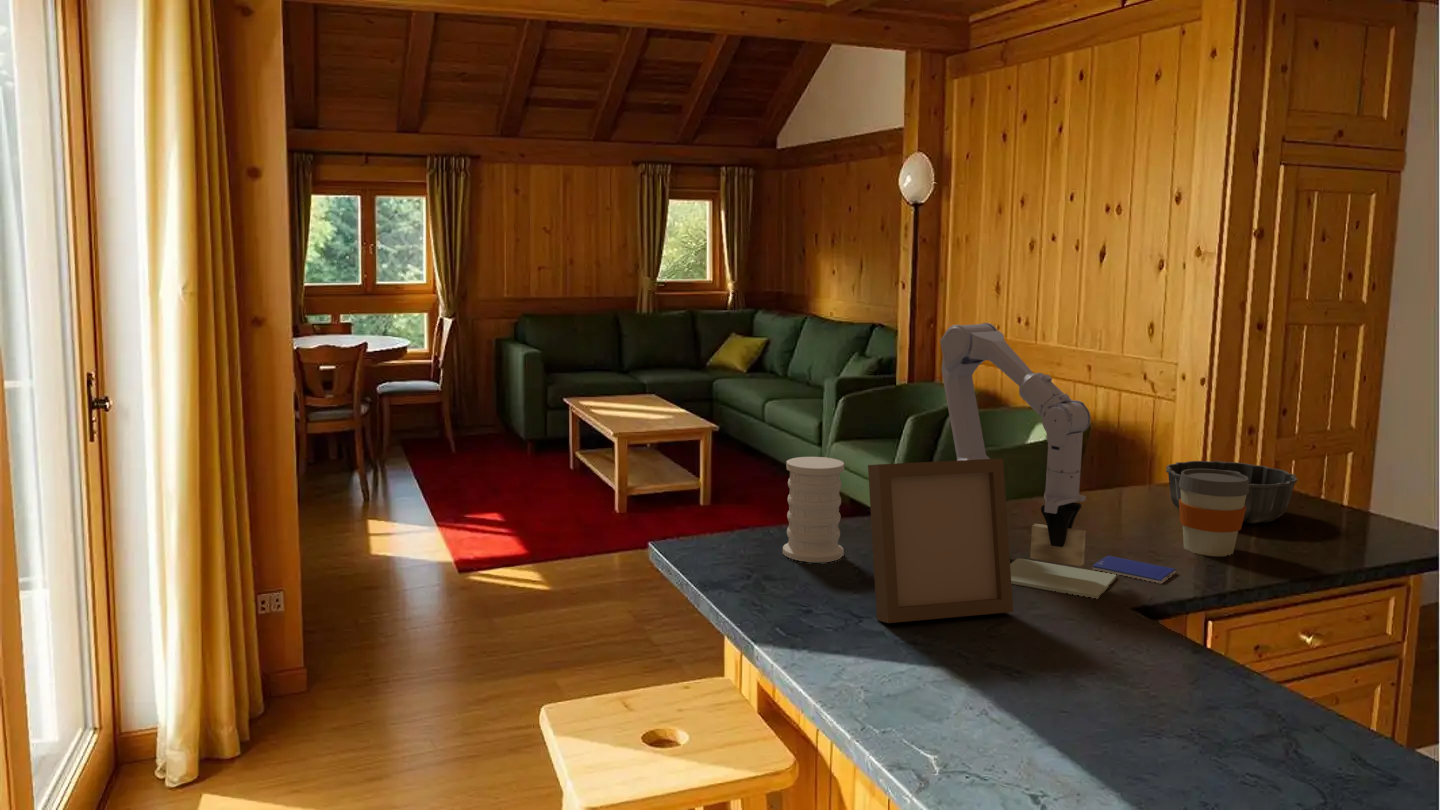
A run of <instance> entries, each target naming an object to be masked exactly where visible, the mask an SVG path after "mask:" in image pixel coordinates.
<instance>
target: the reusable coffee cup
mask: <svg viewBox="0 0 1440 810" xmlns="http://www.w3.org/2000/svg"><path fill="white" fill-rule="evenodd" d="M1179 487H1180V489H1181V499H1179V509H1178V510H1179V524H1181V525H1182V534H1183V535H1182V539H1183V549H1184V550H1186V549H1187V550H1189V551H1188V552H1190V551H1191V553H1194V554H1196V553H1197V555H1201V556H1208V557H1228V556H1227V555H1229V556H1232V555H1233V554H1234V551H1235V547H1236V542H1237V537H1238V534H1239V531H1241V530H1242V526H1243V522H1244V521H1243V519H1244V514H1245V510H1246V506H1245V505H1244V504H1245V500H1246V495H1247V494H1248V493H1249V481H1248V477H1247V476H1245V475H1242V474H1239V473H1235V472H1230V471H1224V470H1216V469H1187V470H1183V471H1182V472H1181V476H1180V481H1179ZM1187 550H1186V551H1187ZM1231 554H1232V555H1231Z"/></svg>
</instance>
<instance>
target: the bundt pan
mask: <svg viewBox="0 0 1440 810" xmlns="http://www.w3.org/2000/svg"><path fill="white" fill-rule="evenodd" d="M1187 469H1216V470H1224V471H1230V472H1235V473H1239V474H1242V475H1245V476H1247V477H1248V481H1249V493H1248V494H1247V495H1246V500H1245V504H1244V505H1245V506H1246V510H1245V514H1244V519H1243V522H1244V523H1247V524H1259V523H1261V522H1262V523H1263V524H1264V523H1270V522H1273V521H1275V520H1276V519H1278V518H1280V517H1282V516H1283V515H1284V514H1285V513H1286V512H1287V510H1288V508H1289V506H1290V502H1291V498H1292V494H1293V490H1294V487H1295V484H1297V483H1298V478H1297V477H1296V474H1293V473H1289V472H1288V471H1286V470H1284V469H1281V468H1280V469H1278V468H1273V467H1268V466H1265V465H1256V464H1250V463H1244V462H1235V461H1218V460H1213V461H1209V460H1208V461H1207V460H1191V461H1185V462H1183V461H1182V462H1181V461H1180V462H1179V461H1176V462H1175V463H1172V464H1168V465H1166V469H1165V472H1166V473H1168V474H1167V475H1168V484H1169V493H1170V499H1171V502H1172V504H1173V505H1174V506H1175V507H1176V508H1177V509H1178V510H1179V499H1181V489H1180V487H1179V481H1180V476H1181V472H1182V471H1183V470H1187ZM1262 523H1261V524H1262Z"/></svg>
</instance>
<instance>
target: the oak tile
mask: <svg viewBox="0 0 1440 810" xmlns="http://www.w3.org/2000/svg"><path fill="white" fill-rule="evenodd" d="M1086 534H1087V530H1083V529H1076V528H1072V529H1070V528H1068V530H1067V535H1066V540H1065V543H1064V546H1063V547H1057V546H1051V543H1050V539H1049V532H1048V527H1047V524H1040V523H1033V525H1032V526H1031V535H1030V536H1031V540H1030V559H1031V560H1032V559H1033V560H1037V561H1038V560H1040V561H1045V562H1052V563H1057V564H1064V565H1071V566H1077V567H1082V566H1083V565H1084V564H1085V553H1086V551H1085V550H1086V536H1087V535H1086Z"/></svg>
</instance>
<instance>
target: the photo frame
mask: <svg viewBox="0 0 1440 810" xmlns="http://www.w3.org/2000/svg"><path fill="white" fill-rule="evenodd" d="M1004 468H1005V466H1004V458H990V459H979V460H959V461H957V460H943V461H941V460H940V461H923V462H921V461H920V462H900V463H882V464H881V463H880V464H868V465H867V470H868V471H867V472H868V487H869V488H868V489H869V506H870V508H869V509H870V521H871V522H870V523H871V540H872V543H871V544H872V556H873V557H872V558H873V575H874V591H875V593H874V594H875V607H876V609H875V611H876V620H877V621H879V622H881V623H887V624H893V623H895V624H896V623H905V622H915V621H918V622H919V621H926V620H929V621H930V620H938V619H948V618H949V619H950V618H951V619H952V618H960V617H973V616H982V615H993V614H1005V613H1013V612H1014V606H1013V605H1014V602H1013V589H1012V587H1013V586H1012V585H1013V584H1011V570H1010V564H1011V555H1010V542H1009V530H1008V529H1009V528H1008V525H1009V524H1008V514H1007V501H1006V499H1007V497H1006V481H1005V471H1004V470H1005V469H1004Z"/></svg>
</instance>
